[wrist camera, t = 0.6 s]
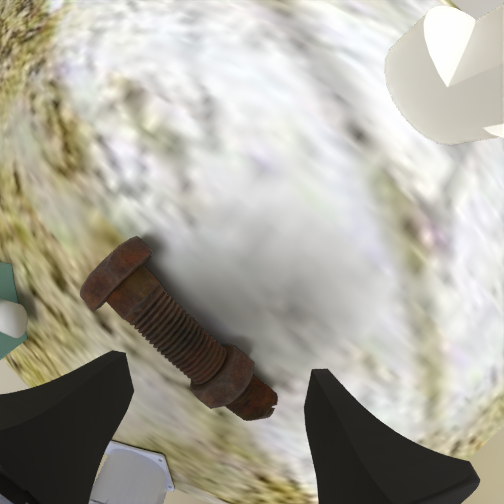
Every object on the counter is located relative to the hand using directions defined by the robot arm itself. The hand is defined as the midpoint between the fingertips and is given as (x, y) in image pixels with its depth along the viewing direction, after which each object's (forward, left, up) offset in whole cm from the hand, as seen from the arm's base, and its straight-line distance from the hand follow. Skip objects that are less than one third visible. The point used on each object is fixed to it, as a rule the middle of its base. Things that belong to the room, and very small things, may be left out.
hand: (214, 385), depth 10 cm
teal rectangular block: (-3, +22, -9) cm, 24 cm away
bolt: (-3, +3, -10) cm, 10 cm away
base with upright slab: (+16, -14, -9) cm, 24 cm away
